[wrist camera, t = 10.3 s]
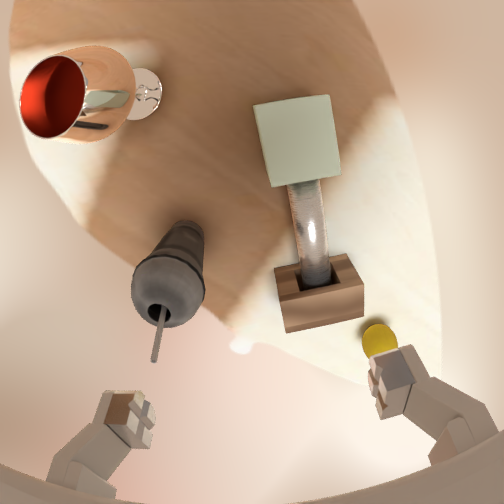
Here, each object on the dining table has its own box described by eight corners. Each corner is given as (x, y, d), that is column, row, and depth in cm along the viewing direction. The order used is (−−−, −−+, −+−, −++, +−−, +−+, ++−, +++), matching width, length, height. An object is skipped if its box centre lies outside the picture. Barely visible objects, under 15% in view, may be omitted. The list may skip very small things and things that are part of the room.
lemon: (366, 311, 46) (383, 346, 39) (392, 317, 47) (411, 350, 39) (350, 337, 48) (363, 372, 41) (376, 341, 49) (391, 374, 42)
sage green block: (252, 105, 32) (254, 106, 26) (313, 95, 31) (329, 94, 25) (266, 171, 35) (271, 187, 29) (324, 161, 35) (341, 174, 29)
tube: (282, 171, 33) (286, 179, 30) (314, 165, 33) (322, 173, 30) (302, 289, 41) (307, 306, 38) (328, 283, 40) (335, 300, 37)
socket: (274, 268, 41) (279, 302, 35) (346, 253, 41) (364, 284, 34) (280, 297, 44) (285, 333, 37) (347, 283, 43) (363, 316, 36)
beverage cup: (205, 203, 37) (171, 305, 19) (222, 254, 40) (208, 376, 23) (151, 218, 38) (85, 320, 20) (170, 267, 41) (129, 384, 23)
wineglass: (152, 48, 28) (76, 12, 12) (182, 105, 31) (125, 111, 15) (95, 85, 29) (-5, 89, 13) (123, 139, 33) (36, 179, 17)
